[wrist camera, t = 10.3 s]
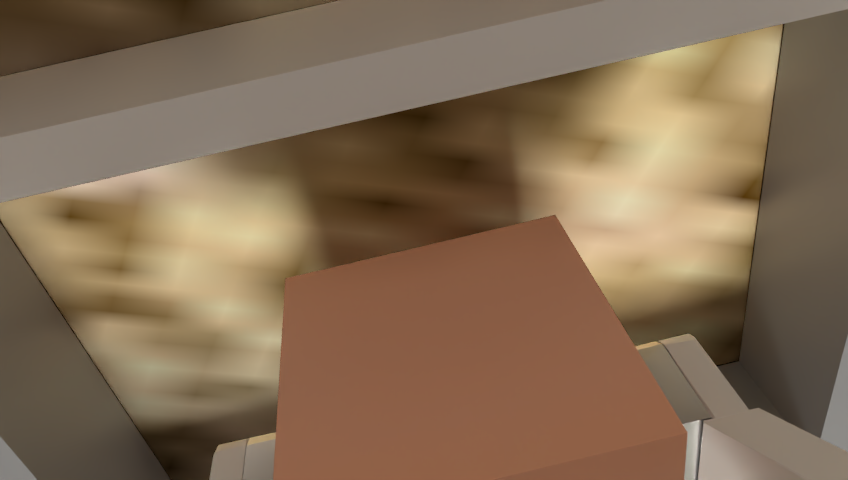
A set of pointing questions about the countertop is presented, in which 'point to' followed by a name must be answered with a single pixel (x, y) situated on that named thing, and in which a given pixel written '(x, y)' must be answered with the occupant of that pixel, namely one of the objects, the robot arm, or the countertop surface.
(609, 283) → the countertop surface
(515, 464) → the terracotta block
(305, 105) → the frame
